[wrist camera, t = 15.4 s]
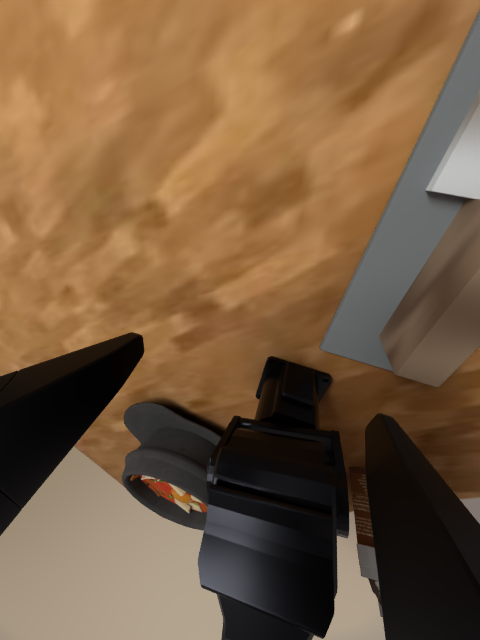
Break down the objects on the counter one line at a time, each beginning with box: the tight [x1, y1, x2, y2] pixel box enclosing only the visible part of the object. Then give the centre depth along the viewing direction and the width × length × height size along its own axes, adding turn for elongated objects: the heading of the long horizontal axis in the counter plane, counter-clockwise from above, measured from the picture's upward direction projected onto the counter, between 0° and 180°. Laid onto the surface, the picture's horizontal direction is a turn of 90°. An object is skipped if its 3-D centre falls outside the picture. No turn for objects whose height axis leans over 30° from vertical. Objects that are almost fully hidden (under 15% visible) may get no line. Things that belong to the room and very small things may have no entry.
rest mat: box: [320, 10, 480, 372], centre depth 14 cm, size 22×10×1 cm, turn 170°
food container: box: [349, 467, 383, 617], centre depth 25 cm, size 12×6×10 cm, turn 24°
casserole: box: [122, 402, 221, 530], centre depth 33 cm, size 25×19×8 cm
